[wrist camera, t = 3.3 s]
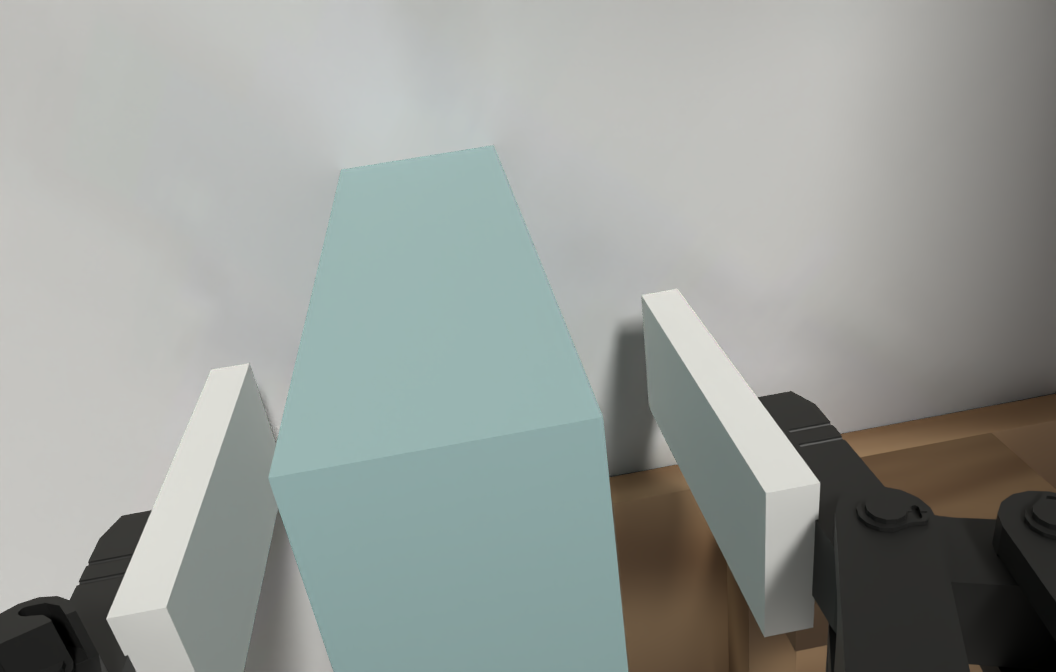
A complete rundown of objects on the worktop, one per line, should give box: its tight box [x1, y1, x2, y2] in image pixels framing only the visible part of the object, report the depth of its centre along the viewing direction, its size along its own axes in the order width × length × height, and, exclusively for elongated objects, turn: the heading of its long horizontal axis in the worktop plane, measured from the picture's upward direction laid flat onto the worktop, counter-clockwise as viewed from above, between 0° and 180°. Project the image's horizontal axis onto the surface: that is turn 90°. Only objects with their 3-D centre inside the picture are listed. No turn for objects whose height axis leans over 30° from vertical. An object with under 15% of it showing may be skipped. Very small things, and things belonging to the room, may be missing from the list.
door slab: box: [268, 145, 628, 672], centre depth 14 cm, size 9×3×10 cm, turn 7°
